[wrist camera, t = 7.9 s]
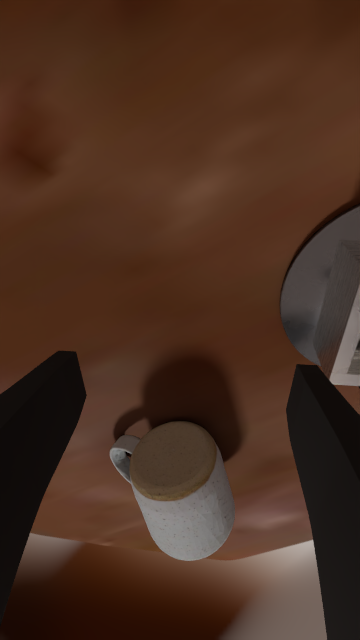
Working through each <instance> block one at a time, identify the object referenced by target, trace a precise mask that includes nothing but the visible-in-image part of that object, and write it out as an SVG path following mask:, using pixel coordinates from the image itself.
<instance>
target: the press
mask: <svg viewBox="0 0 360 640" xmlns="http://www.w3.org/2000/svg"><path fill="white" fill-rule="evenodd" d="M280 314H281V319H282V323H283V327H284V329H285V332H286V334H287V336H288V338H289V339H290V341H291V343H292V344H293V345H294V347H295V348H296V349H297V350H298V351H299V352H300V353H301V354H302V355H303V356H305V357H306V358H307V359H309V360H310V361H312V362H314V363H315V364H317V365H319V366H321V367H322V370H323V372H324V374H325V375H326V377H327V378H328V379H329V380H330V381H331V383H332V384H336V385H352V386H359V388H360V340H359V338H360V204H358V205H356V206H354V207H352V208H350V209H348V210H346V211H345V212H343V213H341V214H339V215H338V216H336V217H335V218H333V219H332V220H331V221H329V222H328V223H326V224H325V225H324V226H323V227H322V228H320V229H319V230H318V231H317V232H316V233H315V234H314V235H313V236H312V237H311V238H310V239H309V240H308V241H307V242H306V243H305V244H304V245H303V247H302V248H301V249H300V251H299V252H298V253H297V255H296V256H295V258H294V259H293V261H292V263H291V265H290V267H289V268H288V271H287V273H286V276H285V278H284V281H283V285H282V289H281V294H280Z"/></svg>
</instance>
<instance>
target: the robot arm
mask: <svg viewBox="0 0 360 640" xmlns="http://www.w3.org/2000/svg"><path fill="white" fill-rule="evenodd" d="M86 396H87V395H86V391H85V387H84V383H83V378H82V374H81V370H80V366H79V362H78V358H77V354H76V352H73V351H58V352H56V353H55V354H53V355H52V356H51V357H49V358H48V359H47V360H45V361H44V362H43V363H41V364H40V365H39V366H37V367H36V368H35V369H34V370H32V371H31V372H30V373H28V374H27V375H26V376H24V377H23V378H22V379H20V380H19V381H18V382H16V383H15V384H14V385H12V386H11V387H10V388H8V389H7V390H6V391H4V392H3V393H2V394H0V625H1V622H2V618H3V615H4V611H5V607H6V604H7V601H8V598H9V595H10V592H11V588H12V585H13V582H14V579H15V575H16V572H17V569H18V566H19V563H20V560H21V557H22V554H23V551H24V548H25V545H26V543H27V540H28V537H29V534H30V531H31V528H32V525H33V523H34V520H35V517H36V515H37V512H38V509H39V506H40V504H41V501H42V498H43V496H44V494H45V491H46V489H47V487H48V485H49V482H50V480H51V478H52V476H53V474H54V472H55V470H56V468H57V466H58V464H59V462H60V459H61V457H62V455H63V453H64V451H65V449H66V447H67V445H68V443H69V441H70V438H71V436H72V434H73V432H74V430H75V428H76V425H77V423H78V420H79V418H80V415H81V412H82V409H83V405H84V402H85V399H86ZM286 413H287V421H288V429H289V437H290V442H291V446H292V450H293V454H294V458H295V462H296V466H297V470H298V474H299V478H300V482H301V486H302V490H303V494H304V498H305V502H306V506H307V510H308V514H309V519H310V524H311V528H312V535H313V541H314V547H315V554H316V560H317V567H318V573H319V581H320V587H321V595H322V602H323V609H324V617H325V625H326V633H327V640H360V415H359V414H358V413H357V412H356V411H355V410H354V408H353V407H352V406H351V405H350V404H349V403H348V402H347V400H346V399H345V398H344V397H343V396H342V395H341V393H340V392H339V391H338V390H337V389H336V387H335V386H334V385H333V384H332V383H331V381H330V380H329V379H328V378H327V377H326V375H325V374H324V373H323V372H322V371H321V370H320V368H319V367H318V366H317V365H301V364H297V365H296V370H295V374H294V378H293V382H292V387H291V391H290V395H289V399H288V403H287V408H286Z"/></svg>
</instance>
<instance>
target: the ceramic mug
mask: <svg viewBox="0 0 360 640" xmlns="http://www.w3.org/2000/svg"><path fill="white" fill-rule="evenodd" d="M125 451H126V452H128V453H131V454H132V456H131V459H129V458H128V457H127V455H126V453H125ZM110 457H111V460H112V462H113V464H114V466H115V467H116V469H117V470H118V471H119V472H120V474H121V475H122V476H123V477H124V478H125V479H126V480H127V481H128V482H129V483H131V485H132V488H133V491H134V494H135V497H136V499H137V501H138V504H139V506H140V508H141V510H142V513H143V516H144V519H145V521H146V524H147V526H148V529H149V531H150V534H151V536H152V538H153V539H154V541H155V542H156V544H157V545H158V547H159V548H160V549H161V550H162V551H164V552H165V553H166V554H168V555H169V556H171V557H174V558H176V559H179V560H187V561H192V560H198V559H202V558H205V557H207V556H209V555H211V554H212V553H214V552H215V551H217V550H218V549H219V548H220V547H221V546H222V545H223V543H224V542H225V540H226V539H227V538H228V536H229V534H230V532H231V529H232V526H233V523H234V518H235V505H234V499H233V496H232V493H231V489H230V485H229V481H228V478H227V474H226V471H225V468H224V464H223V460H222V456H221V453H220V451H219V448H218V446H217V445H216V443H215V441H214V439H213V438H212V436H211V435H210V434H209V433H208V432H207V431H206V430H205V429H204V428H202V427H201V426H199V425H197V424H194V423H191V422H187V421H175V422H169V423H165V424H162V425H160V426H158V427H155V428H154V429H152V430H151V431H149V432H148V433H147V434H146V435H145V436H143V438H142V439H140V438H138V437H135V436H130V435H123V436H121V437H120V438H119V439H118V440H117V441H116V442H115V444H114V445H113V446H112V448H111V450H110Z"/></svg>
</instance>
